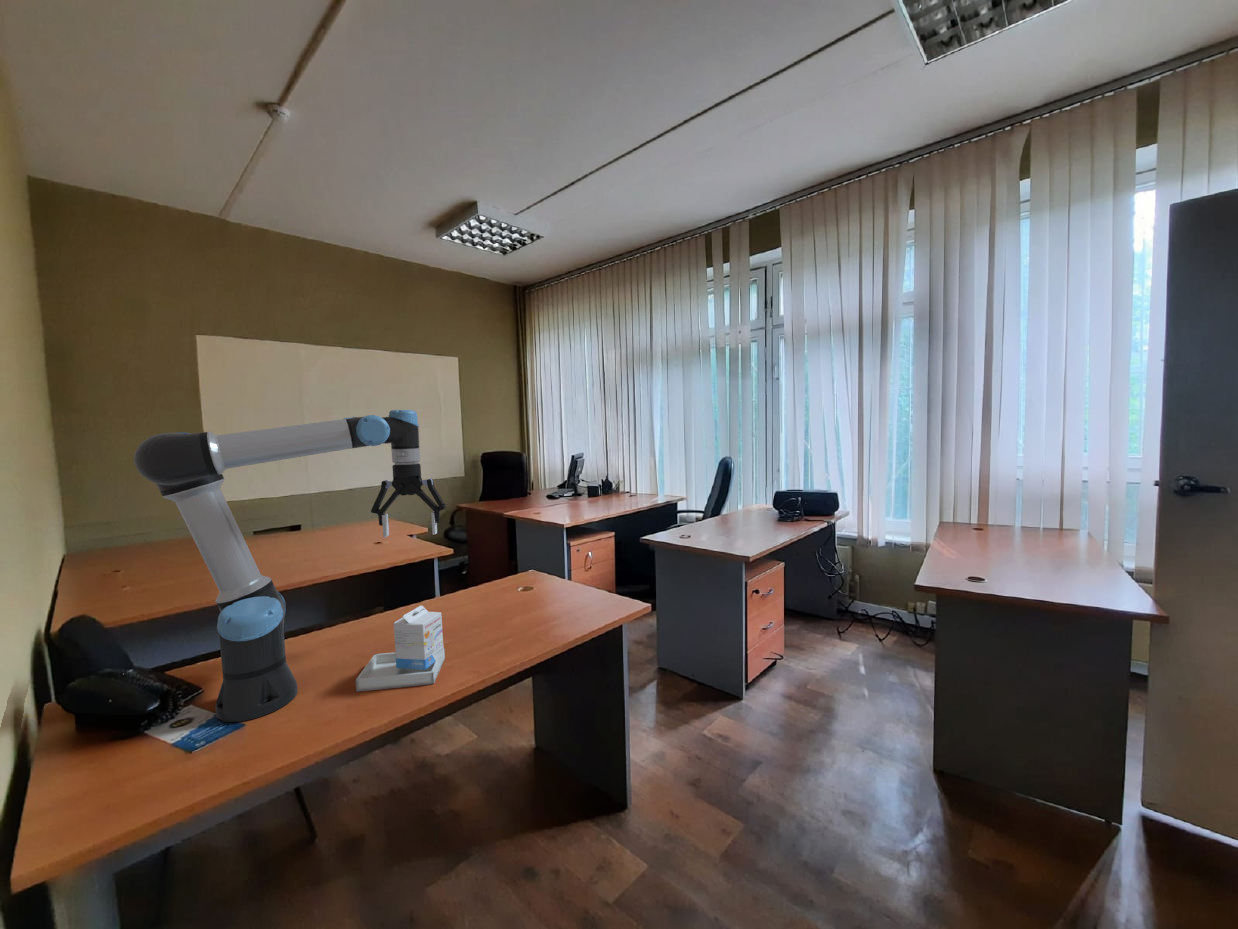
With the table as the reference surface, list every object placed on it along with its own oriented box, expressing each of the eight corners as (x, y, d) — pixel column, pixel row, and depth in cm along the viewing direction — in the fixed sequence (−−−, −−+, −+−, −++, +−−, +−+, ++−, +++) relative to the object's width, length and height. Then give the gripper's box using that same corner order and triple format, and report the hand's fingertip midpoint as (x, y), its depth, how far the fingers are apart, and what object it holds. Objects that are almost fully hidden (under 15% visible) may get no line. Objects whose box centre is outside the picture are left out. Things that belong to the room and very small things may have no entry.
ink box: (425, 670, 117) (422, 618, 116) (395, 668, 119) (392, 616, 118) (444, 654, 125) (442, 605, 124) (416, 652, 127) (413, 603, 126)
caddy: (356, 691, 114) (355, 680, 114) (375, 665, 127) (374, 654, 127) (433, 684, 117) (433, 672, 116) (444, 658, 130) (444, 647, 129)
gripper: (355, 465, 132) (360, 540, 134) (448, 462, 136) (452, 535, 138) (365, 463, 140) (370, 534, 141) (453, 460, 144) (457, 529, 145)
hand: (410, 535), depth 140 cm, fingers open, 13 cm apart
